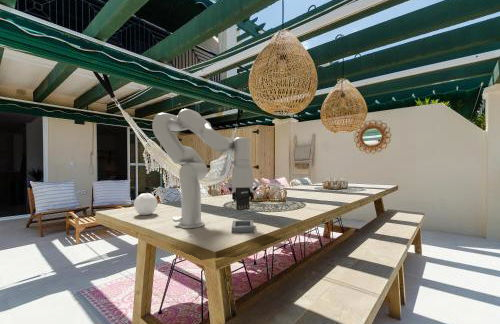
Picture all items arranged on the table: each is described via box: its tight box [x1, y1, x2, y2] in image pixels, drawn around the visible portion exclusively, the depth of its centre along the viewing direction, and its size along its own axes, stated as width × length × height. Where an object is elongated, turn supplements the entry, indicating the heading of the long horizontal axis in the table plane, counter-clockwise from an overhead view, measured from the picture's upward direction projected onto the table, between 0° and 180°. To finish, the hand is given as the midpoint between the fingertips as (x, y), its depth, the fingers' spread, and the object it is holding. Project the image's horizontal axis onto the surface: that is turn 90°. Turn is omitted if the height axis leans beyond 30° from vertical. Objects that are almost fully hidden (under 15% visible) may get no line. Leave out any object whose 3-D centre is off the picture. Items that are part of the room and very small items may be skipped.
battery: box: [235, 188, 251, 211], centre depth 123 cm, size 7×4×11 cm, turn 115°
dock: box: [231, 219, 255, 234], centre depth 124 cm, size 10×13×2 cm
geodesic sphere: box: [133, 192, 158, 216], centre depth 158 cm, size 14×14×14 cm
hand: (242, 200), depth 123 cm, fingers closed on battery, 7 cm apart
